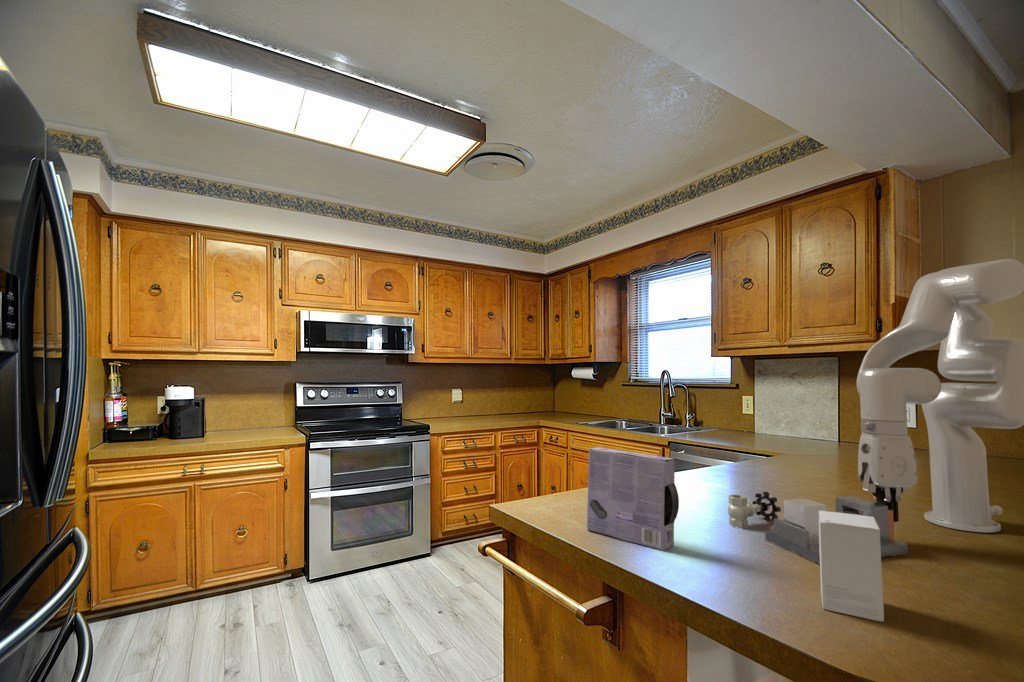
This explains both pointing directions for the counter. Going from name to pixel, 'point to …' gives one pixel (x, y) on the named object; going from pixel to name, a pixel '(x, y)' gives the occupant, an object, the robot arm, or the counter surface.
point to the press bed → (815, 553)
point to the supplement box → (851, 565)
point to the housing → (804, 516)
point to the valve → (750, 509)
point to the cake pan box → (632, 497)
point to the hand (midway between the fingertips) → (887, 519)
